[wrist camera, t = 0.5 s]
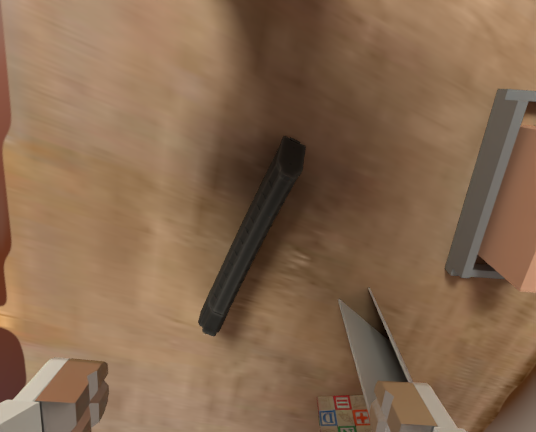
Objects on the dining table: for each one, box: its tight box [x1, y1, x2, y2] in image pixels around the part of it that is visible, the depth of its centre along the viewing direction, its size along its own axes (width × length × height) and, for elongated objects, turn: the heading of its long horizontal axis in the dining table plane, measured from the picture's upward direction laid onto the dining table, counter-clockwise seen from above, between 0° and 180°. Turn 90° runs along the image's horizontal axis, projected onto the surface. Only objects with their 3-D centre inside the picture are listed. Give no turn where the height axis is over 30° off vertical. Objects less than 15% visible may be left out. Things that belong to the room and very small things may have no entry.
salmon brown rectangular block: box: [478, 125, 536, 292], centre depth 42 cm, size 18×4×12 cm, turn 177°
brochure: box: [338, 287, 413, 417], centre depth 43 cm, size 14×6×30 cm, turn 27°
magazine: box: [198, 136, 306, 336], centre depth 46 cm, size 17×3×30 cm
